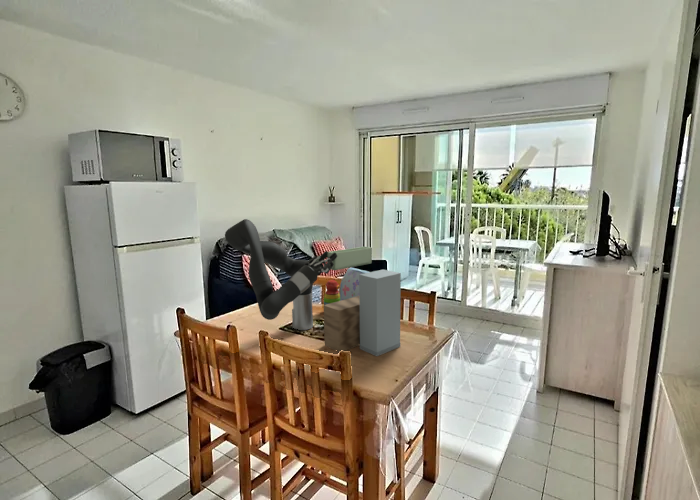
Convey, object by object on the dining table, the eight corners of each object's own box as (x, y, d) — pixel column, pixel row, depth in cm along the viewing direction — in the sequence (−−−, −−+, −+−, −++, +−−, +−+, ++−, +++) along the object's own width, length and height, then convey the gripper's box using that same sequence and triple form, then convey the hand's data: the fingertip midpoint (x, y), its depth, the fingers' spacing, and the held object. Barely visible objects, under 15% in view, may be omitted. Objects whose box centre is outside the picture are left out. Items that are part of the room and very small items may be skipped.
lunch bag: (392, 323, 192) (393, 271, 187) (369, 331, 180) (368, 276, 176) (361, 312, 208) (360, 264, 204) (337, 320, 197) (336, 269, 192)
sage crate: (334, 270, 155) (334, 253, 154) (327, 268, 159) (327, 252, 157) (371, 263, 170) (371, 247, 169) (364, 261, 174) (364, 246, 172)
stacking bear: (335, 316, 203) (334, 283, 200) (319, 313, 208) (318, 281, 205) (346, 310, 212) (345, 279, 209) (331, 307, 217) (330, 277, 214)
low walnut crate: (339, 352, 158) (338, 310, 155) (324, 345, 166) (323, 305, 163) (378, 337, 173) (378, 299, 170) (363, 331, 181) (363, 294, 178)
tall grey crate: (376, 356, 154) (376, 278, 149) (359, 348, 162) (358, 274, 156) (400, 346, 163) (401, 273, 158) (383, 339, 171) (383, 269, 166)
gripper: (296, 283, 155) (324, 258, 163) (317, 290, 144) (347, 263, 153) (287, 269, 151) (317, 244, 160) (309, 275, 141) (340, 248, 149)
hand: (331, 253), depth 156 cm, fingers closed on sage crate, 4 cm apart
